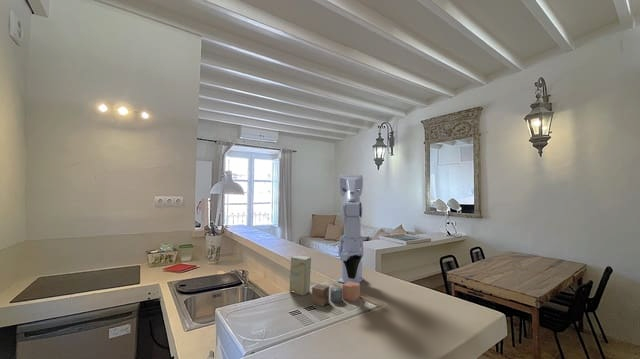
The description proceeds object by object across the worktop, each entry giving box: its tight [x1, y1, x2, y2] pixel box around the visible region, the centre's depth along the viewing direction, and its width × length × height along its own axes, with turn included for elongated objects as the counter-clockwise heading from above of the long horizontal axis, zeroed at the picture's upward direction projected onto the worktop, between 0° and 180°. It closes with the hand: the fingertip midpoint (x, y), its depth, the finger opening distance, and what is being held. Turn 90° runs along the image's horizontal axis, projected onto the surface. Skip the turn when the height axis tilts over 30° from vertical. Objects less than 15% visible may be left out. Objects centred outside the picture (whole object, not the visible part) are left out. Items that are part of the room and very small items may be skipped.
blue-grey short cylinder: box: [329, 286, 343, 304], centre depth 82 cm, size 4×4×4 cm
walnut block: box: [311, 283, 330, 307], centre depth 80 cm, size 4×4×5 cm
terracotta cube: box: [342, 281, 361, 302], centre depth 84 cm, size 4×4×4 cm
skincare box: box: [288, 254, 312, 296], centre depth 89 cm, size 6×4×12 cm
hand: (351, 277), depth 84 cm, fingers closed
